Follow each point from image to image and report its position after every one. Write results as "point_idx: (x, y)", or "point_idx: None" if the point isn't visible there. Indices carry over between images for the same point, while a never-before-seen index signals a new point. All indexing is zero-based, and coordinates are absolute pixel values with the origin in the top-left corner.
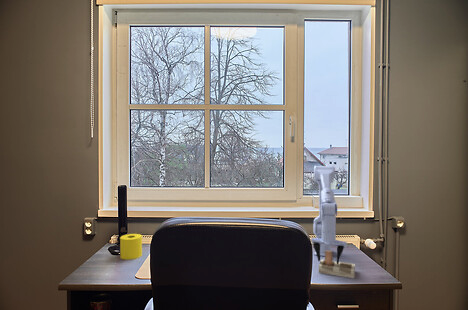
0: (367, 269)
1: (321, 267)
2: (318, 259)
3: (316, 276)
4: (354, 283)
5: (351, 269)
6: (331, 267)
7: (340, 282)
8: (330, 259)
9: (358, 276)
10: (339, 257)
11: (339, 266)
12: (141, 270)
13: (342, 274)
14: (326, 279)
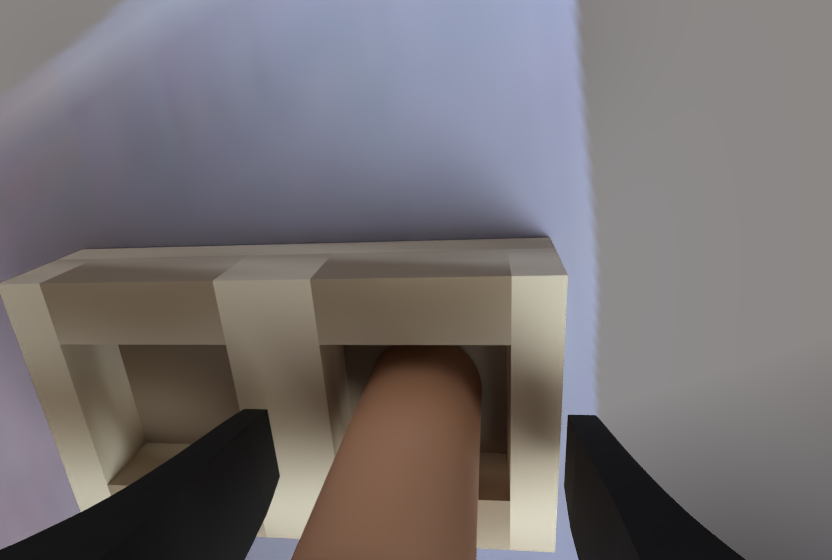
0: None
1: (513, 268)
2: (599, 427)
3: (568, 68)
4: (26, 82)
5: (51, 329)
6: (336, 281)
7: (187, 15)
8: (353, 442)
9: None
10: (140, 478)
11: (234, 374)
12: None
13: (205, 252)
14: (397, 24)
